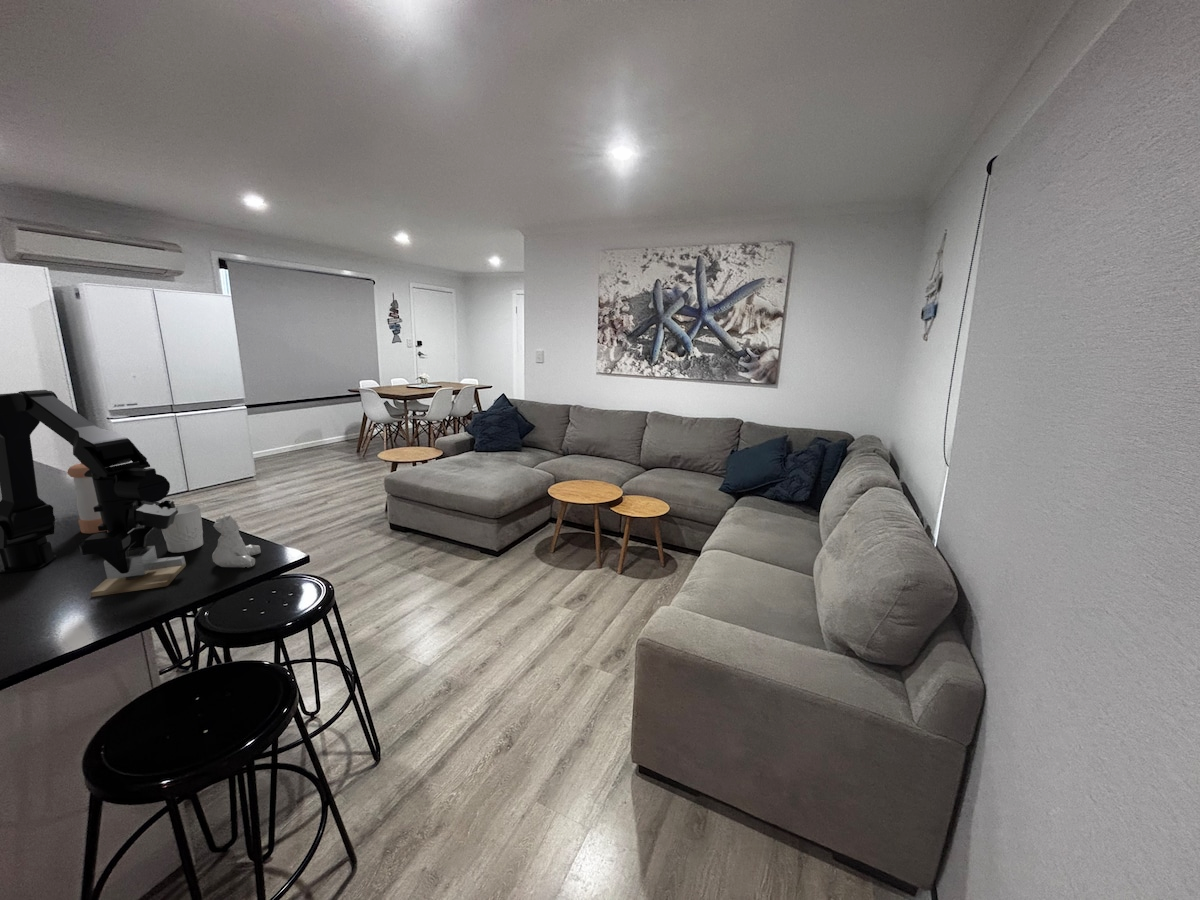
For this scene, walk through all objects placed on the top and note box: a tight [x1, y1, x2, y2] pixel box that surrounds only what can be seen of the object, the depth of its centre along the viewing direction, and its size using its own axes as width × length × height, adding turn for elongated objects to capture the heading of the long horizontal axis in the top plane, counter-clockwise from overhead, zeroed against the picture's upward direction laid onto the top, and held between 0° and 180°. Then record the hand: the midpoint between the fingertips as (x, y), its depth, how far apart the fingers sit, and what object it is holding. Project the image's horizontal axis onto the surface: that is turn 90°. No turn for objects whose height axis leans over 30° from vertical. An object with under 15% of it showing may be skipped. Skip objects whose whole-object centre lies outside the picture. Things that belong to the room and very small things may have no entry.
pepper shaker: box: [66, 462, 107, 534], centre depth 124 cm, size 7×7×19 cm
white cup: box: [161, 504, 204, 553], centre depth 116 cm, size 8×8×10 cm
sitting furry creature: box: [211, 513, 261, 568], centre depth 108 cm, size 10×9×12 cm
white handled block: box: [103, 545, 186, 579], centre depth 100 cm, size 12×6×4 cm, turn 114°
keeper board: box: [90, 554, 187, 598], centre depth 100 cm, size 12×10×6 cm
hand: (132, 566), depth 99 cm, fingers closed on white handled block, 6 cm apart
